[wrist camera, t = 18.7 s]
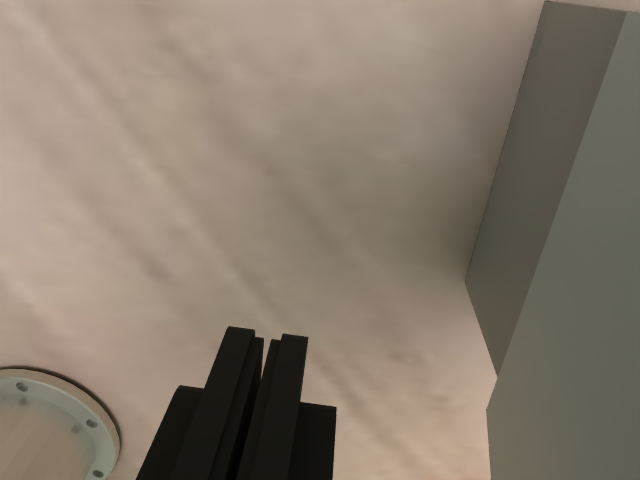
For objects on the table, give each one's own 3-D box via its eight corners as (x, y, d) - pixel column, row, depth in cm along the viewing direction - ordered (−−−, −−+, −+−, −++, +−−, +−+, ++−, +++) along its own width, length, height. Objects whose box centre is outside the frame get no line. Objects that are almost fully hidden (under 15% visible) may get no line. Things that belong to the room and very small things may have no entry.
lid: (563, 856, 11) (515, 838, 11) (509, 415, 22) (486, 410, 23) (1298, 105, 4) (1129, 84, 4) (663, 16, 15) (627, 12, 15)
